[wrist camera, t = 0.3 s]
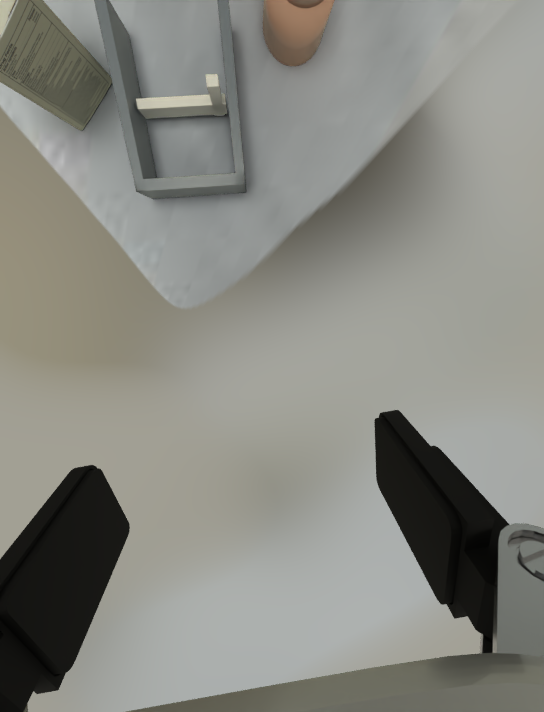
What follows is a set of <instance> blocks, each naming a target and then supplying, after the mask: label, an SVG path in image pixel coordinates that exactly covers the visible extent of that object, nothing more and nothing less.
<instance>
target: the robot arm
mask: <svg viewBox="0 0 544 712" xmlns="http://www.w3.org/2000/svg"><path fill="white" fill-rule="evenodd" d="M375 447H376V477H377V483H378V486H379V488H380V491H381V493H382V495H383V496H384V498H385V500H386V502H387V504H388V506H389V508H390V510H391V511H392V514H393V516H394V517H395V519H396V521H397V523H398V525H399V527H400V529H401V531H402V533H403V535H404V537H405V539H406V541H407V543H408V544H409V546H410V548H411V550H412V552H413V553H414V556H415V558H416V560H417V562H418V564H419V565H420V567H421V569H422V571H423V573H424V575H425V577H426V579H427V581H428V583H429V585H430V586H431V589H432V590H433V592H434V594H435V596H436V598H437V600H438V601H439V602H440V603H441V604H447V606H448V607H449V609H450V611H451V613H452V615H453V617H454V618H460V617H465V616H468V617H469V619H470V621H471V622H472V624H473V626H474V628H475V629H476V630H477V631H478V632H480V633H481V642H480V654H470V655H459V656H447V657H440V658H434V659H427V660H420V661H414V662H407V663H400V664H395V665H387V666H380V667H374V668H368V669H363V670H357V671H352V672H345V673H340V674H334V675H329V676H322V677H317V678H311V679H305V680H299V681H294V682H288V683H282V684H277V685H271V686H265V687H259V688H255V689H249V690H243V691H237V692H232V693H226V694H221V695H215V696H209V697H205V698H198V699H193V700H187V701H182V702H176V703H171V704H165V705H160V706H155V707H149V708H143V709H138V710H132V711H127V712H544V529H543V528H541V527H538V526H534V525H529V524H512V525H509V524H508V523H507V521H506V520H505V519H504V518H503V517H502V516H501V515H500V514H499V513H498V512H497V511H496V509H495V508H494V507H492V505H491V504H490V503H489V502H488V501H487V500H486V499H485V497H484V496H483V495H482V494H481V493H480V492H479V491H478V490H477V489H476V488H475V487H474V485H473V484H472V483H471V482H470V481H469V480H468V479H467V478H466V477H465V476H464V475H463V474H462V472H461V471H460V470H459V469H458V468H457V467H456V466H455V465H454V464H453V463H452V462H451V460H450V459H449V458H448V457H447V456H446V455H445V454H444V453H443V452H442V451H441V450H440V449H439V448H438V447H436V446H430V445H429V444H428V443H427V442H426V441H425V439H424V438H423V437H422V436H421V435H420V434H419V433H418V431H416V429H415V428H414V427H413V426H412V425H411V424H410V422H409V421H408V420H407V419H406V418H405V417H404V416H403V414H402V413H401V412H400V411H399V410H394V411H388V412H383V413H380V415H379V418H376V419H375ZM129 528H130V527H129V522H128V520H127V518H126V516H125V514H124V513H123V511H122V509H121V507H120V505H119V503H118V501H117V499H116V497H115V495H114V493H113V491H112V489H111V487H110V485H109V484H108V482H107V480H106V478H105V476H104V474H103V472H102V470H101V469H97V467H96V466H94V465H89V466H84V467H78V468H74V469H73V470H71V471H70V472H69V474H68V475H67V476H66V477H65V479H64V480H63V481H62V483H61V484H60V485H59V486H58V487H57V489H56V490H55V491H54V492H53V494H52V495H51V496H50V497H49V499H48V500H47V501H46V503H45V504H44V505H43V506H42V508H41V509H40V510H39V511H38V513H37V514H36V515H35V516H34V518H33V519H32V520H31V521H30V523H29V524H28V525H27V526H26V528H25V529H24V530H23V531H22V533H21V534H20V535H19V537H18V538H17V539H16V540H15V541H14V543H13V544H12V545H11V546H10V548H9V549H8V550H7V551H6V553H5V554H4V555H3V557H2V558H1V559H0V712H28V708H27V703H28V701H29V698H30V696H31V694H32V692H33V691H34V692H35V693H37V694H39V693H45V692H51V691H56V690H59V687H60V685H61V683H62V680H63V678H64V676H65V673H66V672H68V671H69V670H70V669H71V667H72V666H73V664H74V662H75V660H76V657H77V655H78V653H79V650H80V648H81V645H82V643H83V641H84V639H85V636H86V634H87V631H88V629H89V627H90V624H91V622H92V619H93V617H94V615H95V613H96V610H97V608H98V605H99V603H100V601H101V598H102V596H103V594H104V591H105V589H106V586H107V584H108V582H109V579H110V577H111V575H112V572H113V570H114V568H115V565H116V563H117V561H118V558H119V556H120V553H121V551H122V549H123V546H124V544H125V541H126V539H127V537H128V534H129Z"/></svg>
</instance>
